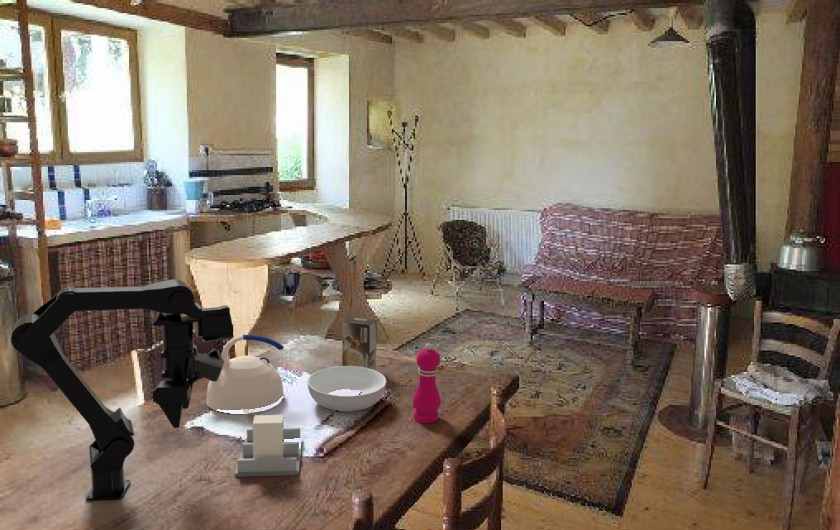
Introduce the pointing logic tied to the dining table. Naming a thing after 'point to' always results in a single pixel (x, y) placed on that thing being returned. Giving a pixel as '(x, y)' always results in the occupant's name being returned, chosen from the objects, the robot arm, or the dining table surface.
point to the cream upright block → (268, 436)
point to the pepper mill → (427, 386)
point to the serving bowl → (346, 387)
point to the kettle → (245, 380)
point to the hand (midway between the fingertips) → (181, 417)
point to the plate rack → (270, 465)
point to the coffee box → (359, 342)
